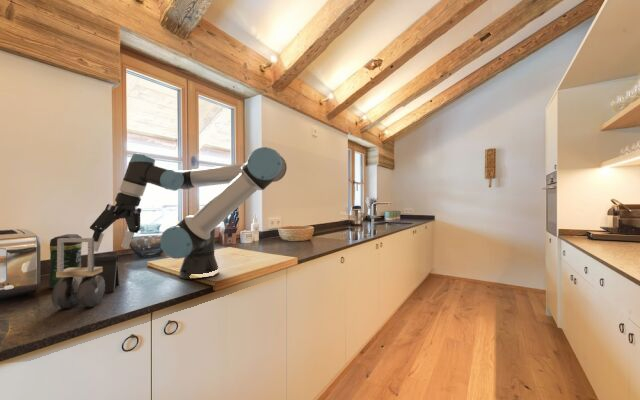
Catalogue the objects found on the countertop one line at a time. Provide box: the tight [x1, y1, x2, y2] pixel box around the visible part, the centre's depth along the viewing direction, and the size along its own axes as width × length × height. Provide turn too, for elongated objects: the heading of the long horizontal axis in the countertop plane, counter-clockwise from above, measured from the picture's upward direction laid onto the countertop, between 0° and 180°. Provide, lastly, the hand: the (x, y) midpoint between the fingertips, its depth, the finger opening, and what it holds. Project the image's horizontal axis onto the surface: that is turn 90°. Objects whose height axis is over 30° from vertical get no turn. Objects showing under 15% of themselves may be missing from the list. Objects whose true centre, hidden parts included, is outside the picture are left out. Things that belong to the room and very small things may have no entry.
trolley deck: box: [56, 266, 103, 277], centre depth 81 cm, size 9×5×2 cm, turn 101°
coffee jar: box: [48, 233, 83, 289], centre depth 100 cm, size 10×8×19 cm
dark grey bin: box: [94, 254, 121, 294], centre depth 96 cm, size 9×6×12 cm, turn 24°
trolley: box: [51, 237, 105, 310], centre depth 81 cm, size 9×9×20 cm
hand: (109, 249), depth 100 cm, fingers open, 13 cm apart
